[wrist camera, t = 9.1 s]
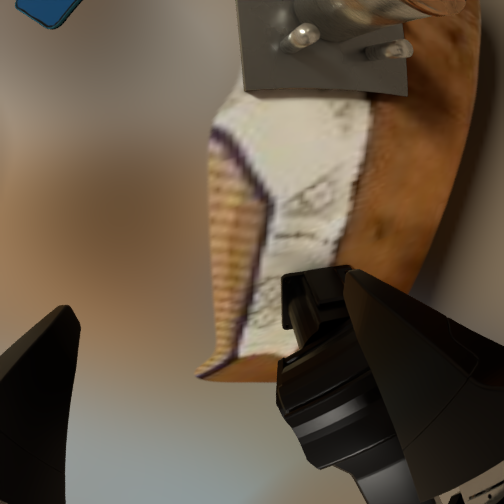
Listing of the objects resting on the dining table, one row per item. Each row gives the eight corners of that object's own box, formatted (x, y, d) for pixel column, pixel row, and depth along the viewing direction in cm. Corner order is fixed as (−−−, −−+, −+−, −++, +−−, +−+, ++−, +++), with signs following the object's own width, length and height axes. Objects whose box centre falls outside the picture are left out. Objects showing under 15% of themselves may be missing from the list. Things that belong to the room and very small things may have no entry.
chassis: (398, 95, 17) (442, 101, 13) (244, 91, 16) (253, 87, 12) (383, -31, 11) (419, -49, 6) (230, -50, 10) (235, -85, 6)
